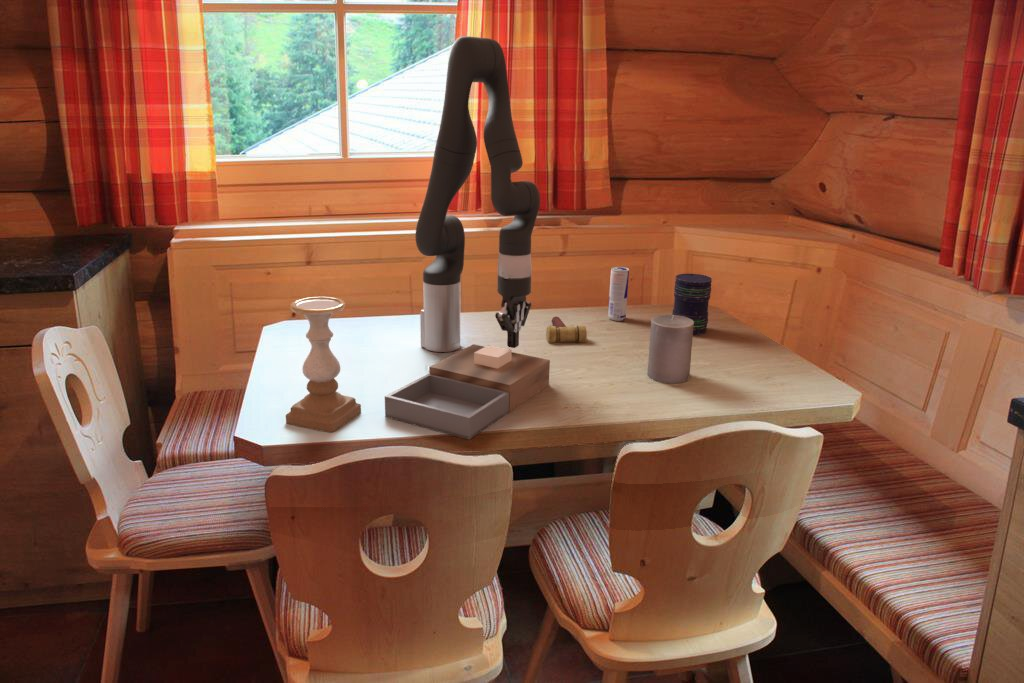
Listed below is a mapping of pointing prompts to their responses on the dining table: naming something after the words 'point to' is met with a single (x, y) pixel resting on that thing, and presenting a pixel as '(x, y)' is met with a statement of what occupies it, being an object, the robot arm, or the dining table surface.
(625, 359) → the dining table surface
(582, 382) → the dining table surface
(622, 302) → the beverage can
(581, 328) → the gavel
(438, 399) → the box
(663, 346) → the pillar candle
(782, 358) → the dining table surface
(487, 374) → the brown wooden box
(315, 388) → the candle holder
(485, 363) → the tile
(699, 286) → the storage jar
